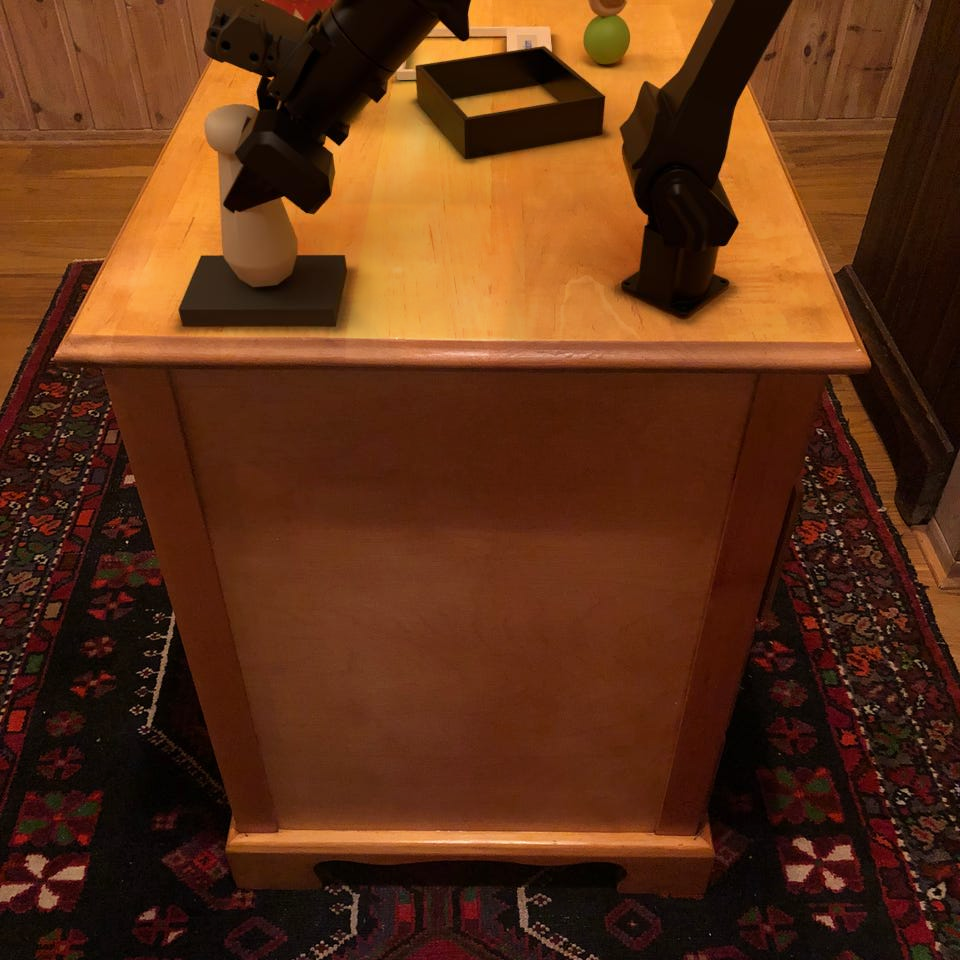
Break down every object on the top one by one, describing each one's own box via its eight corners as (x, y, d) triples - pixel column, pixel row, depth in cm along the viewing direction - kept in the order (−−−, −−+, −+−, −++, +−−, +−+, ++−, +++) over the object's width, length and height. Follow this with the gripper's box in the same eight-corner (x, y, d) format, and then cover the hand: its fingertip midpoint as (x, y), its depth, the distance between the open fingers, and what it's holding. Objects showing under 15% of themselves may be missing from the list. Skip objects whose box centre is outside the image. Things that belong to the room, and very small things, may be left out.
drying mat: (336, 326, 74) (333, 308, 73) (182, 326, 74) (177, 309, 73) (347, 271, 80) (345, 254, 79) (204, 271, 80) (200, 255, 79)
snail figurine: (566, 62, 113) (571, -50, 104) (608, 51, 115) (617, -59, 107) (594, 77, 110) (602, -38, 101) (637, 65, 112) (648, -48, 104)
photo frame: (554, 69, 108) (396, 69, 108) (553, 79, 109) (397, 79, 109) (549, 24, 118) (405, 25, 119) (549, 34, 119) (406, 34, 120)
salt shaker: (317, 266, 76) (291, 104, 67) (270, 301, 72) (237, 135, 63) (261, 247, 78) (229, 89, 69) (213, 280, 75) (172, 118, 66)
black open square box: (602, 134, 98) (605, 96, 96) (465, 159, 94) (464, 120, 92) (543, 81, 109) (544, 45, 106) (417, 102, 105) (415, 65, 102)
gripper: (282, -94, 66) (163, 73, 73) (240, -7, 52) (100, 186, 60) (404, 23, 71) (282, 167, 79) (395, 128, 58) (248, 289, 65)
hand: (232, 196), depth 71 cm, fingers closed on salt shaker, 3 cm apart
